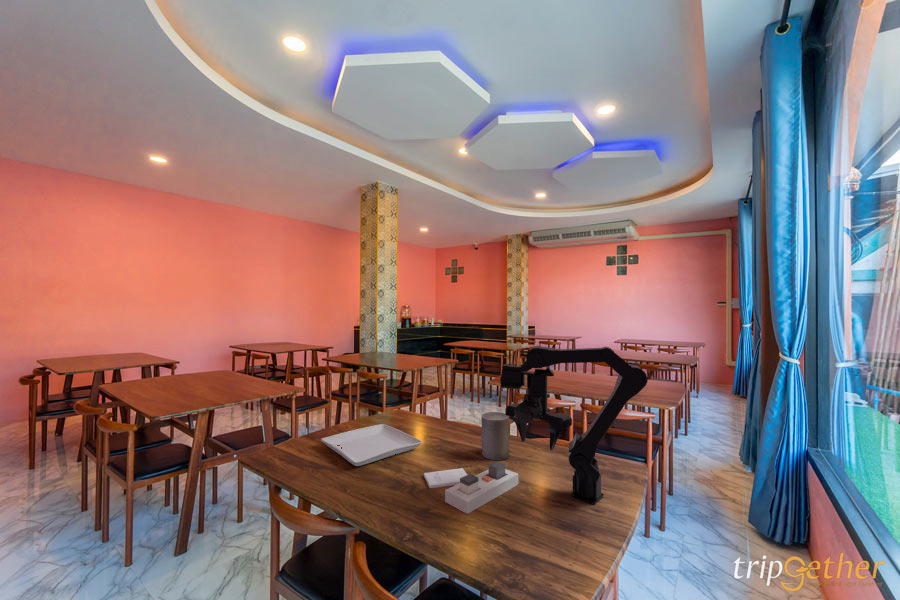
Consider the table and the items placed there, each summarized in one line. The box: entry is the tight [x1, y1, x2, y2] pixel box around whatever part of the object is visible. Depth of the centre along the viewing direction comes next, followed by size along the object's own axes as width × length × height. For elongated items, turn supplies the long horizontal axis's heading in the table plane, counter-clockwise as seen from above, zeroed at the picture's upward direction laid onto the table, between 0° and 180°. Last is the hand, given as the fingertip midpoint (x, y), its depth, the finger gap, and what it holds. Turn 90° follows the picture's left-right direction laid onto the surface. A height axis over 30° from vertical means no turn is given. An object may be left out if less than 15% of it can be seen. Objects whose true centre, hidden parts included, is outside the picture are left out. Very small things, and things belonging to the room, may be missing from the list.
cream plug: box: [460, 473, 478, 495], centre depth 95 cm, size 3×4×6 cm
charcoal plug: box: [488, 460, 506, 480], centre depth 104 cm, size 3×4×6 cm
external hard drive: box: [423, 467, 468, 489], centre depth 107 cm, size 2×8×12 cm
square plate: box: [320, 423, 423, 467], centre depth 131 cm, size 27×27×4 cm
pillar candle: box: [481, 411, 510, 461], centre depth 126 cm, size 10×10×15 cm
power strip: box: [444, 468, 519, 515], centre depth 100 cm, size 8×22×4 cm, turn 135°
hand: (537, 445), depth 103 cm, fingers open, 9 cm apart
